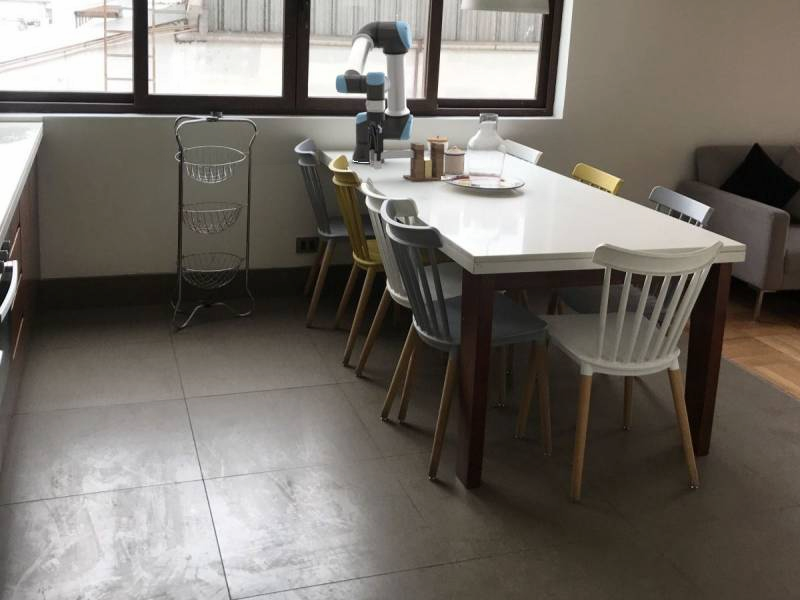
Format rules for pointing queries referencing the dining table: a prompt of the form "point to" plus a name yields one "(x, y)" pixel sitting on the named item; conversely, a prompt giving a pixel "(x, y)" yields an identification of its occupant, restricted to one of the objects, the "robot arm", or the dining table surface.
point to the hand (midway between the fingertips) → (375, 167)
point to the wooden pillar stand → (418, 163)
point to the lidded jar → (438, 139)
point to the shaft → (395, 154)
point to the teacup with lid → (454, 161)
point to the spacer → (427, 168)
